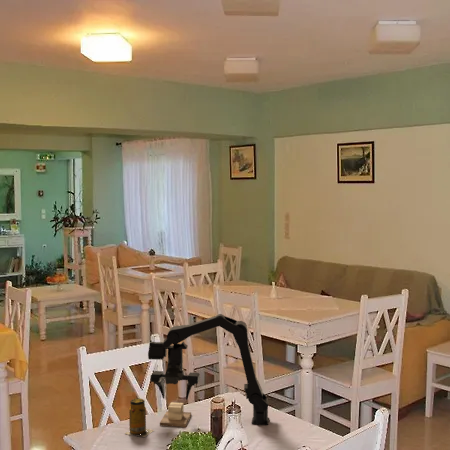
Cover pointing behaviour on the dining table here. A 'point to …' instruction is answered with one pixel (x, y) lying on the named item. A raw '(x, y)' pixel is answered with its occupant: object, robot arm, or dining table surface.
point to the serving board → (175, 423)
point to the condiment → (138, 418)
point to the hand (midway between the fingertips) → (175, 398)
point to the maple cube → (175, 411)
